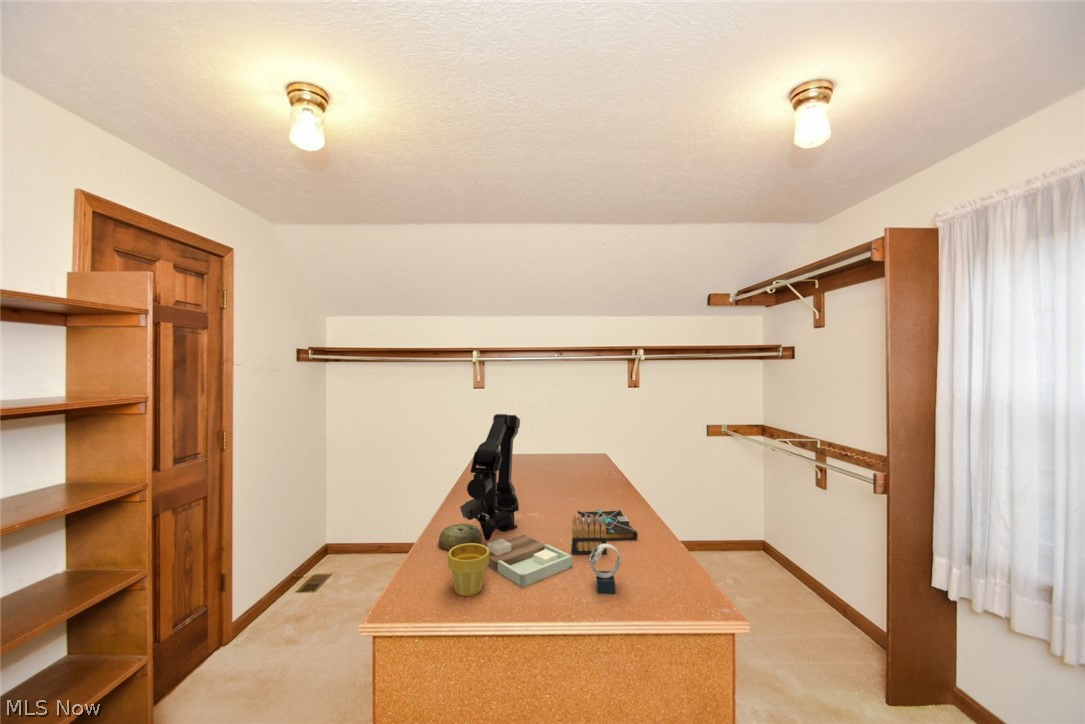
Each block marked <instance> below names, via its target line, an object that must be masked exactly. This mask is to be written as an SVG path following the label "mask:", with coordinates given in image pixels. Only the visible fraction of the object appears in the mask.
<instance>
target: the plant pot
mask: <svg viewBox="0 0 1085 724" xmlns="http://www.w3.org/2000/svg"><path fill="white" fill-rule="evenodd" d="M447 564H448V568H449V570H450V571H451V576H452V582H453V586H454V592H455V593H456V594H457V595H459V596H461V597H462V596H463V597H471V596H475V595H477V594H478V593H480V592H481V591H482V588H483V587H482V586H483V582H484V578H485V573H486V568H487V567H489V566H488V564H489V549H488V548H487V546H485V545H484V544H481V543H480V544H476V543H468V544H461V545H458V546H455V547H453V548H452V549H451V550H448V553H447Z"/></svg>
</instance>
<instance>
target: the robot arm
mask: <svg viewBox="0 0 1085 724" xmlns="http://www.w3.org/2000/svg"><path fill="white" fill-rule="evenodd" d="M492 421H493V422H492V424H491V427H490V429H489V431H488V434H487V437H486V438H485V440H484V442H482V443H480V444H479V445H478V446H477V449H476V451H475V452H474V453H473V459H472V464H471V468H470V473H471V474H473V479H470V480H469V482H468V483H467V486H466V491H467V494H468V495H469V496H470V497H471V499H470V500H468V501H466V502H465V503H463V504H462V505H461V506H459V508H460V512H461V515H462V518H465V519H467V520H469V521H471V520H473V519H475V520H476V521H478V522H479V524H480V528H481V531H482V536H483V538H484V541H486V542H488V541H490V540H491V537H492V536H493V533H494V531H495V530H499V531H501V532H505V531H509V530H512V529H516V528H518V525H517V524H515V513H516V512H518V511H520V508H519V507H520V506H519V500H518V497H517V494H516V488H515V486H514V484H513V483H512V472H513V471H512V468H513V454H514V453H513V448H514V440H515V438H516V436H517V434H518V433H519V429H520V426H521V419H520V418H519V417H518V416H517V415H516V414H507V413H496V414H494V415H493V419H492ZM497 476H498V477H497Z"/></svg>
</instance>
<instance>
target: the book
mask: <svg viewBox="0 0 1085 724" xmlns="http://www.w3.org/2000/svg"><path fill="white" fill-rule="evenodd" d="M577 514H578V516H576V520H578V519H579V515H580V514H581V516H582V526H583V528H584V518H585V514H587V518H588V528H589V526H590V516H591V514H592V515H593V520H594V536H595V524H596V516H597V514H598V515H599V522H600V536H601V521H602V515H603V514H604V516H605V524H606V541H615V540H616V541H617V540H618V541H619V540H620V541H622V540H627V541H631V540H632V541H638V535H639V534H638V530H636V529H634V527H632V526H631V525H630V520H629V519H628V517H627V516H626V515H625V516H624V515H623V512H622V511H621V508H620V509H617V510H607V511H602V510H601V509H600V508H598V509H597V510H596V511H581V510H577Z"/></svg>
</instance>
